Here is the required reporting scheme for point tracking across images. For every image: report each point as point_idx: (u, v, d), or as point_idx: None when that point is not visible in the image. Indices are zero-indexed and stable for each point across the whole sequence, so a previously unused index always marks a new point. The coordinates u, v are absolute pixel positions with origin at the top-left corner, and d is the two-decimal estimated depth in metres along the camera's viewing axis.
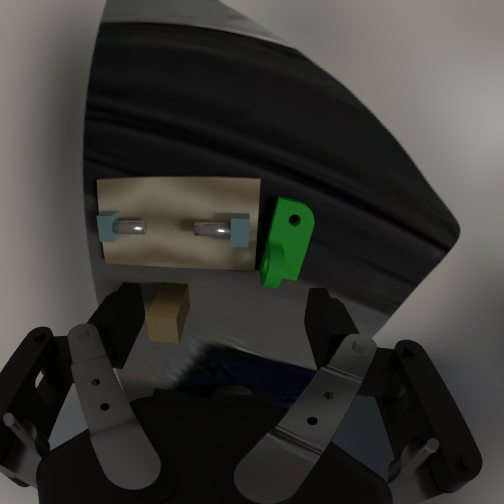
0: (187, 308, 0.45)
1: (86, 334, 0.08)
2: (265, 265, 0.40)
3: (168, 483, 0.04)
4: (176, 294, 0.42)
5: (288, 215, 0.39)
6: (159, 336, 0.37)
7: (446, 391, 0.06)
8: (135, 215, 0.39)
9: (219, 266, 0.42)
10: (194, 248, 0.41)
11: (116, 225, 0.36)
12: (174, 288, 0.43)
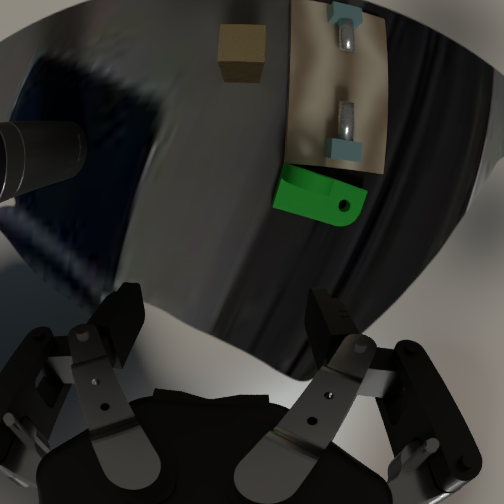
0: (231, 78, 0.29)
1: (86, 334, 0.08)
2: None
3: (167, 482, 0.04)
4: None
5: (350, 199, 0.35)
6: (229, 36, 0.20)
7: (446, 391, 0.06)
8: None
9: (291, 122, 0.32)
10: (314, 96, 0.30)
11: (352, 23, 0.24)
12: None
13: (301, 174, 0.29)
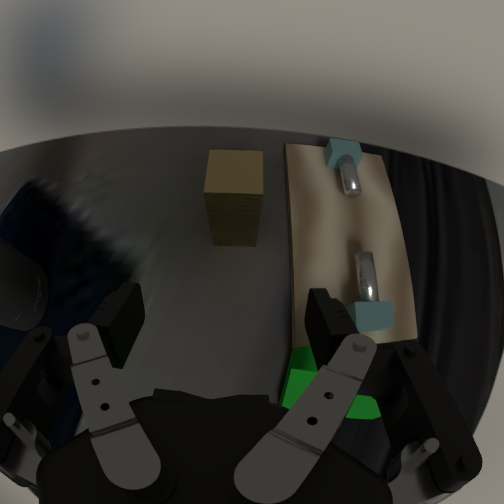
0: (221, 237, 0.28)
1: (86, 334, 0.08)
2: None
3: (167, 482, 0.04)
4: None
5: None
6: (220, 164, 0.22)
7: (446, 391, 0.06)
8: None
9: (299, 292, 0.27)
10: (323, 256, 0.28)
11: (352, 160, 0.30)
12: None
13: None
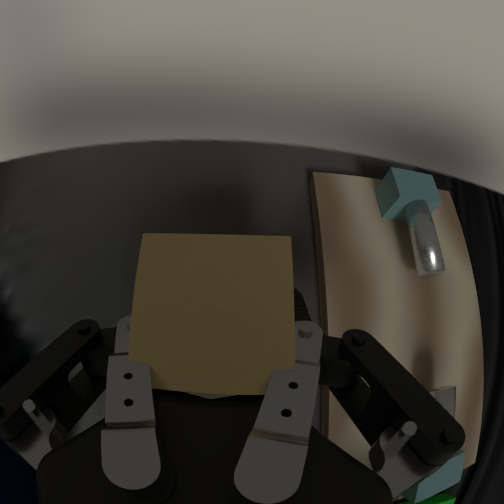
0: None
1: None
2: None
3: (164, 490, 0.04)
4: None
5: None
6: (168, 286, 0.07)
7: (405, 372, 0.07)
8: None
9: None
10: None
11: (429, 211, 0.16)
12: None
13: None
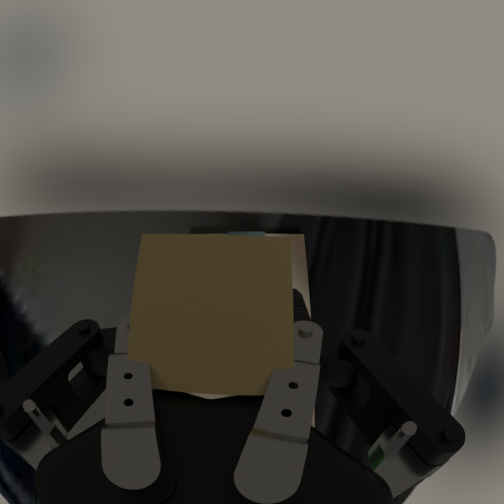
0: None
1: None
2: None
3: (164, 489, 0.04)
4: None
5: None
6: (168, 286, 0.07)
7: (405, 372, 0.07)
8: None
9: None
10: None
11: None
12: None
13: None
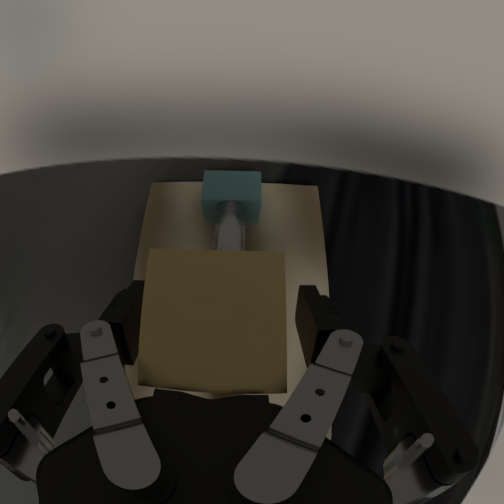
0: None
1: (98, 331, 0.08)
2: None
3: (167, 484, 0.04)
4: None
5: None
6: (174, 297, 0.08)
7: (436, 385, 0.06)
8: None
9: None
10: None
11: (238, 211, 0.18)
12: None
13: None
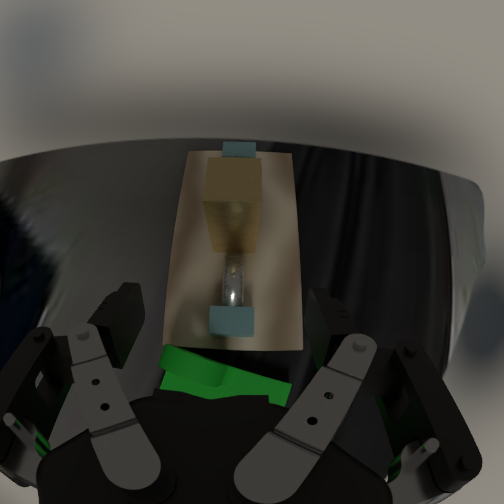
0: (221, 244, 0.28)
1: (86, 334, 0.08)
2: None
3: (167, 482, 0.04)
4: None
5: None
6: (218, 171, 0.22)
7: (445, 391, 0.06)
8: None
9: (170, 293, 0.28)
10: (200, 259, 0.29)
11: None
12: None
13: (169, 353, 0.20)
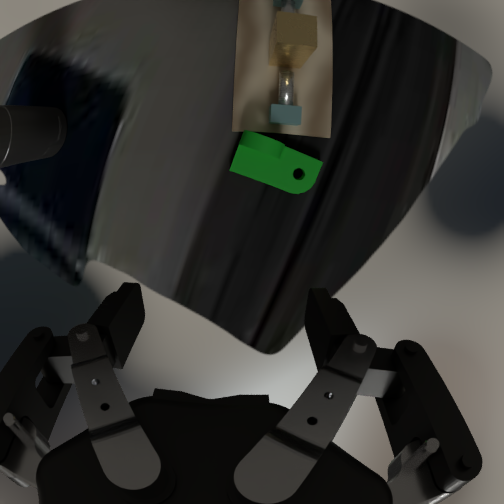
0: (277, 62, 0.30)
1: (86, 334, 0.08)
2: None
3: (167, 482, 0.04)
4: None
5: (304, 168, 0.38)
6: (286, 22, 0.22)
7: (446, 391, 0.06)
8: None
9: (237, 94, 0.34)
10: (258, 70, 0.32)
11: (292, 3, 0.26)
12: None
13: (251, 136, 0.31)
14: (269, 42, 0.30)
